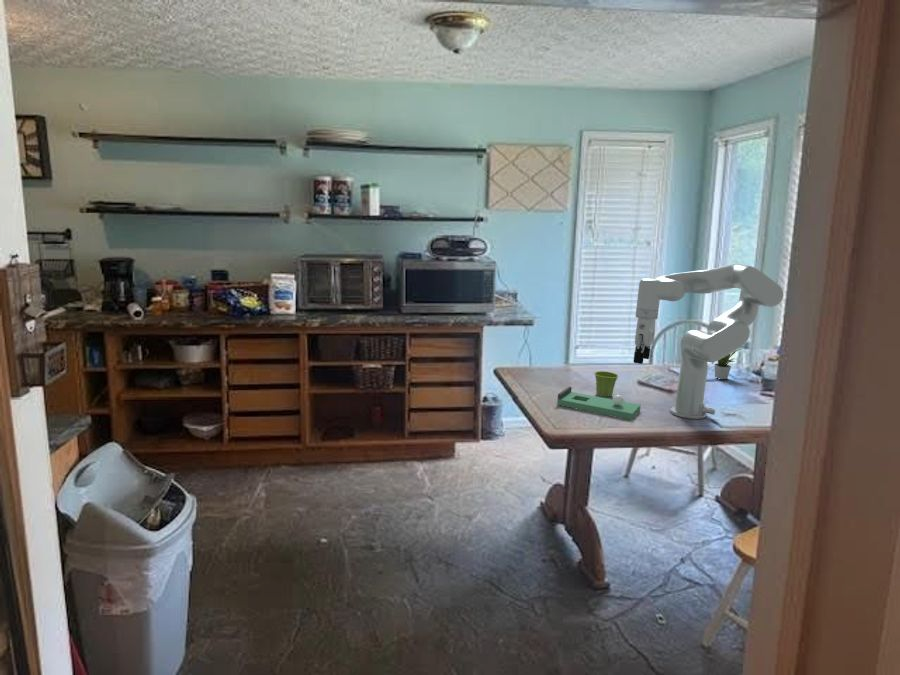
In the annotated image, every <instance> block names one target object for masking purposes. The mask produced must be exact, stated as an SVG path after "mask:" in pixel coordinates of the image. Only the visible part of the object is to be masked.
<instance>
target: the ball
mask: <svg viewBox="0 0 900 675" xmlns="http://www.w3.org/2000/svg"><path fill="white" fill-rule="evenodd" d="M612 400H613V403H614V404H615V405H617V406H620V405H622V404H623V402H625V400H624V397H623V396H622V395H621V394H616V395H614V396H613V397H612Z"/></svg>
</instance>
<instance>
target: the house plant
mask: <svg viewBox="0 0 900 675" xmlns="http://www.w3.org/2000/svg"><path fill="white" fill-rule="evenodd" d="M739 350H741V348H738V349H737V350H735V351H734V352H732V353H730V354H729V355H727V356H725V357H724V358H722V359H720V360H718V361H717V363H714V364H713V365H714V366H713V367H714V378H715V377H717V378H720V379H727V380H728V378H729V374H730V371H731V368H732V366H731V365H730V363H733V362H734V363H735V362H736V361H735V360H737V361H738V359H736V358H731V357H732V356H733V355H735V353H737V352H738V351H739ZM730 358H731V359H730Z"/></svg>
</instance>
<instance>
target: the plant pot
mask: <svg viewBox="0 0 900 675" xmlns="http://www.w3.org/2000/svg"><path fill="white" fill-rule="evenodd" d="M594 375H595V381H596V382H595V385H596V388H595V389H596V395H598V397H602V398H608V397H610V398H611V397H612V396H613V392H614V389H615V386H616V382H617V380H618V378H619V374H617V373H614V372H610V371H603V370H602V371H595V372H594Z"/></svg>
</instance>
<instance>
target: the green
mask: <svg viewBox="0 0 900 675" xmlns="http://www.w3.org/2000/svg"><path fill="white" fill-rule="evenodd" d="M556 405H557V406H558V405H561V406H560V407H563V406H567V407H566V408H568V407H571V408H570V409H573V408H577V409H576V410H578V409H581V410H580V411H584V410H586V411H585V412H589V411H590V412H589V413H594V412H596V413H595V414H599V413H600V414H599V415H604V414H606V415H605V416H609V415H611V416H610V417H614V416H616V417H615V418H619V417H621V418H620V419H624V418H626V419H625V420H629V419H631V420H630V421H633V419H635V417H636V416H637V413H638V414H639V413H640V411H641V404H638V403H633V402H629V401H624V402H623V404H622V405H620V406H617V405H615V404H614V403H613V398H612V399H611V398H608V397H603V396H595V395H591V394H590V395H589V394H585V393H579V392H573V391H572V386H568V387H566V388H565V389H563V390H562V391H560V392H559V393H558V394H557V401H556Z"/></svg>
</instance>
